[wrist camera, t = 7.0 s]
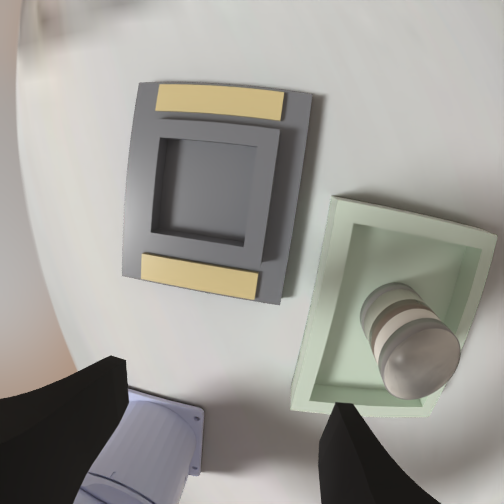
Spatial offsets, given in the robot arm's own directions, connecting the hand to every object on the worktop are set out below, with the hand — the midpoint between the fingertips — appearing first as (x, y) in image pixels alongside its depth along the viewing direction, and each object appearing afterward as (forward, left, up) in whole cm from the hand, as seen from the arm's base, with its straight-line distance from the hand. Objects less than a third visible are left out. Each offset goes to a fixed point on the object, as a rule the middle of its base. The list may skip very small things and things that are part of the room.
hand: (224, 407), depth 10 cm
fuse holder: (+6, +3, -10) cm, 12 cm away
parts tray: (0, -9, -10) cm, 13 cm away
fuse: (0, -9, -10) cm, 13 cm away
